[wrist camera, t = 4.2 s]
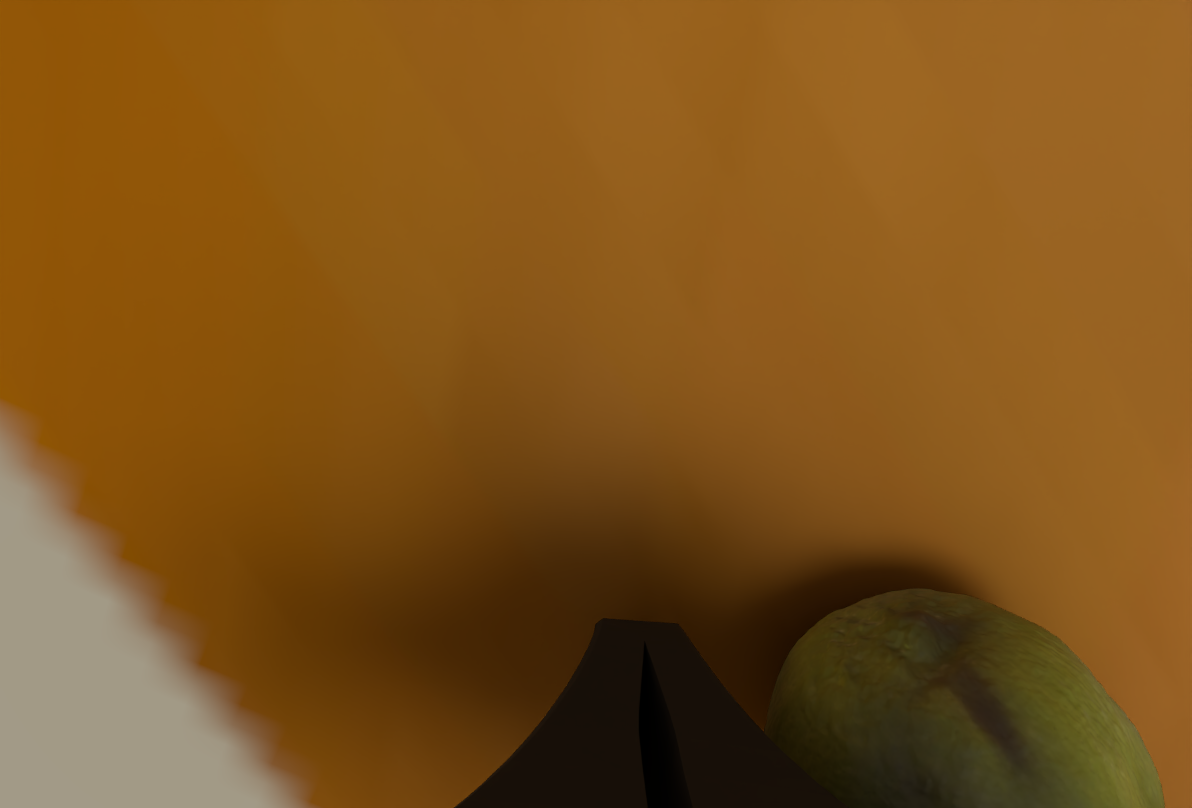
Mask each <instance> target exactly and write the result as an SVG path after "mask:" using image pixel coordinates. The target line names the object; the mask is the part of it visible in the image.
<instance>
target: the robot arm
mask: <svg viewBox="0 0 1192 808" xmlns="http://www.w3.org/2000/svg"><path fill="white" fill-rule="evenodd" d="M454 808H849V807H848V806H846V805H845V804H844V803H842V802H841V801H840V800H838V799H837V798H836V797H835V796H833V795H832V794H831V793H830V792H828V791H827V790H826V789H825V788H824V787H822V786H821V785H820V784H819V783H817V782H816V781H815V780H814V779H813V778H812V777H811V776H809V775H808V774H807V773H806V772H805V771H804V770H803V769H802V768H801V767H799V766H798V765H797V764H796V763H795V762H794V761H793V760H792V759H791V758H789V757H788V756H787V755H786V754H785V753H784V752H783V751H782V750H781V749H780V748H779V747H778V746H777V745H776V744H775V743H774V742H773V741H772V740H771V739H770V738H769V737H768V736H767V735H766V734H765V733H764V732H763V731H762V730H761V729H760V728H759V727H758V726H757V725H756V723H755V722H754V721H753V720H752V719H751V718H750V717H749V716H748V715H747V714H746V712H745V711H744V710H743V709H742V708H741V707H740V705H739V704H738V703H737V702H736V701H735V699H734V698H733V697H732V696H731V694H730V693H729V692H728V691H727V689H726V688H725V687H724V686H723V684H722V683H721V682H720V681H719V679H718V678H717V677H716V675H715V674H714V673H713V672H712V670H711V669H710V667H709V666H708V665H707V663H706V662H705V661H704V659H703V658H702V657H701V655H700V654H699V652H698V651H697V649H696V648H695V647H694V645H693V644H692V642H691V641H690V639H689V638H688V636H687V635H686V633H685V632H684V631H683V629H682V628H681V627H680V626H679V624H675V623H661V622H647V621H633V620H619V619H605V618H603V619H602V620H600V621H599V622H598V623H597V624H596V625H595V631H594V634H593V637H592V639H591V642H590V644H589V647H588V649H587V651H586V653H585V655H584V657H583V659H582V661H581V662H580V664H579V666H578V667H577V669H576V671H575V673H574V674H573V676H572V678H571V679H570V681H569V683H568V684H567V686H566V687H565V689H564V691H563V692H562V693H561V695H560V696H559V698H558V699H557V700H556V702H555V703H554V704H553V706H552V707H551V709H550V710H549V711H548V713H547V714H546V716H545V717H544V718H543V720H542V721H541V722H540V723H539V725H538V726H537V727H536V728H535V730H534V731H533V732H532V733H531V734H530V736H529V737H528V738H527V739H526V740H525V741H524V742H523V744H522V745H521V746H520V747H519V748H518V749H517V750H516V751H515V752H514V753H513V754H512V756H511V757H510V758H509V759H508V760H507V761H506V762H505V763H504V764H503V765H501V766H500V767H499V768H498V769H497V770H496V771H495V772H494V773H493V774H492V775H491V776H490V777H489V778H488V779H487V780H486V781H485V782H484V783H483V784H482V785H481V786H479V787H478V788H477V789H476V790H475V791H474V792H473V793H471V794H470V795H469V796H468V797H467V798H466V799H464V800H463V801H462V802H461V803H459V804H458V805H457V806H455V807H454Z"/></svg>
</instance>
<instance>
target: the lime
mask: <svg viewBox="0 0 1192 808" xmlns="http://www.w3.org/2000/svg"><path fill="white" fill-rule="evenodd" d="M764 733H765V734H766V735H767V736H768V737H769V738H770V739H771V740H772V741H773V742H774V743H775V744H776V745H777V746H778V747H779V748H780V749H781V750H782V751H783V752H784V753H785V754H786V755H787V756H788V757H789V758H791V759H792V760H793V761H794V762H795V763H796V764H797V765H798V766H799V767H801V768H802V769H803V770H804V771H805V772H806V773H807V774H808V775H809V776H811V777H812V778H813V779H814V780H815V781H816V782H817V783H819V784H820V785H821V786H822V787H824V788H825V789H826V790H827V791H828V792H830V793H831V794H832V795H833V796H835V797H836V798H837V799H838V800H840V801H841V802H842V803H844V804H845V805H846V806H848V807H849V808H1165V806H1164V805H1165V804H1164V797H1163V792H1162V786H1161V783H1160V780H1159V776H1158V773H1157V770H1156V768H1155V766H1154V764H1153V761H1152V759H1151V757H1150V754H1149V753H1148V752H1147V749H1146V747H1145V745H1144V743H1143V740H1142V738H1141V737H1140V735H1139V733H1138V731H1137V730H1136V728H1135V726H1134V725H1133V723H1132V722H1131V721H1130V720H1129V719H1128V717H1127V715H1126V714H1125V713H1124V711H1123V710H1122V709H1121V708H1120V707H1119V706H1118V705H1117V704H1116V702H1115V701H1114V700H1113V699H1112V698H1111V697H1110V696H1109V695H1108V694H1107V693H1106V691H1105V689H1104V688H1103V686H1102V685H1101V684H1100V683H1099V682H1098V681H1097V680H1096V678H1095V677H1094V676H1093V674H1092V673H1091V671H1090V670H1089V669H1088V667H1087V666H1086V665H1085V664H1084V663H1083V662H1082V661H1081V660H1080V659H1079V658H1078V656H1077V655H1075V654H1074V653H1073V652H1072V651H1071V650H1070V649H1069V648H1068V646H1067V645H1065V644H1064V643H1063V642H1062V641H1061V640H1060V639H1059V638H1058V637H1057V636H1055V635H1053V634H1051V633H1050V632H1049V631H1047V630H1046V629H1044V628H1042V627H1041V626H1038V625H1036V624H1035V623H1033V622H1030V621H1028V620H1026V619H1024V618H1022V617H1019V616H1017V615H1015V614H1012V613H1010V612H1009V611H1006V610H1004V609H1002V608H999V607H997V606H995V605H993V604H991V603H988V602H985V601H983V600H980V599H978V598H974V597H972V596H968V595H965V594H955V593H949V592H939V591H935V590H931V589H921V588H914V589H905V590H900V591H890V592H887V593H884V594H881V595H876V596H873V597H871V598H866V599H863V600H861V601H859V602H858V603H855V604H853V605H851V606H848V607H846V608H844V609H840V610H836V611H834V612H832V613H831V614H828V615H827V616H826V617H825V618H823V619H821V620H820V621H818V622H817V623H816V624H815V625H814V626H813V627H812V628H810V629H809V630H808V631H807V633H806V634H805V635H804V636H803V637H801V638H800V639H799V640H798V641H797V642H796V644H795V645H794V646H793V648H792V649H791V650H790V652H789V654H788V656H787V658H786V660H785V662H784V664H783V666H782V668H781V670H780V672H779V675H778V678H777V680H776V683H775V687H774V690H773V694H772V696H771V701H770V704H769V708H768V714H767V722H766V725H765V729H764Z"/></svg>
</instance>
